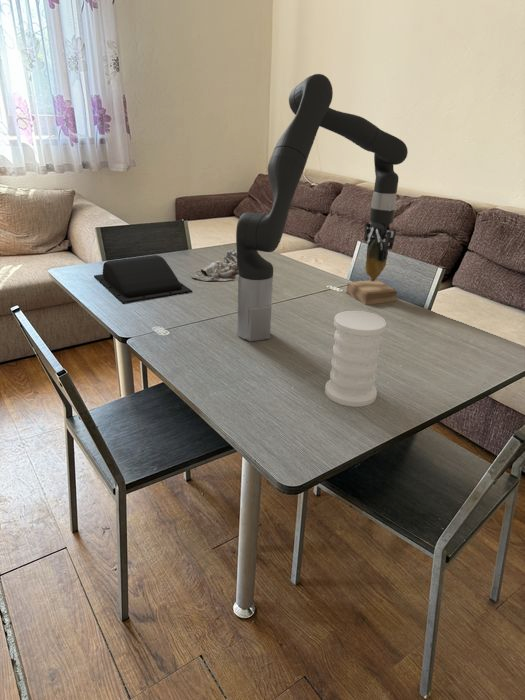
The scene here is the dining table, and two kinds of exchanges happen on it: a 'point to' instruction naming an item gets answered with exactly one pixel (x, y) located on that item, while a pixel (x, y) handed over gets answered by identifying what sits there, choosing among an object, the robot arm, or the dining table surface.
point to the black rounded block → (140, 279)
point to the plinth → (371, 292)
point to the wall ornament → (220, 269)
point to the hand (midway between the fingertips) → (375, 258)
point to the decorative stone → (374, 260)
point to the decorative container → (355, 358)
